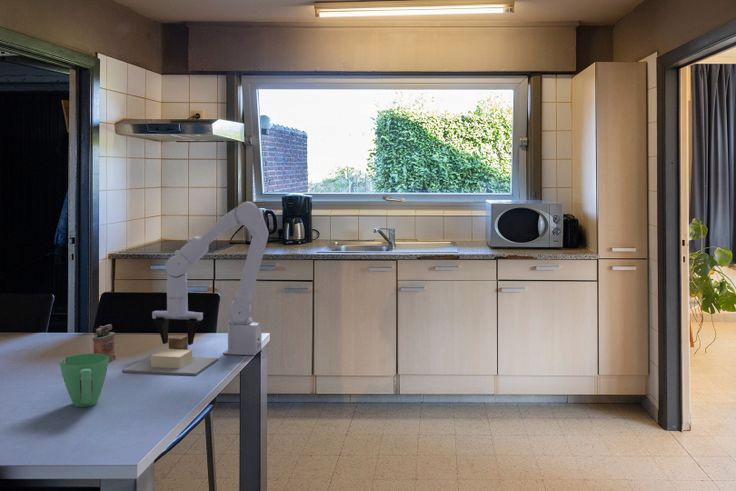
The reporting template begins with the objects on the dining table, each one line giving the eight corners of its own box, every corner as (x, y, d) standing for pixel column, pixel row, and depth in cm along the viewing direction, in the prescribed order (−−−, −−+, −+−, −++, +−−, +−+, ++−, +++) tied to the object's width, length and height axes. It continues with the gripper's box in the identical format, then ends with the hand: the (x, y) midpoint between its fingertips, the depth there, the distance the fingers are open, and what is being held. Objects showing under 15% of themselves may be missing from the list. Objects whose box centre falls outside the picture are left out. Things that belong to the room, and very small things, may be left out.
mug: (60, 399, 149) (59, 356, 148) (107, 394, 153) (106, 351, 152) (62, 420, 136) (60, 372, 135) (113, 413, 140) (112, 367, 139)
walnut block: (187, 352, 194) (187, 335, 193) (181, 356, 190) (181, 338, 189) (174, 352, 194) (174, 335, 194) (168, 355, 190) (168, 338, 190)
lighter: (101, 366, 178) (100, 329, 177) (90, 365, 179) (89, 328, 178) (118, 358, 186) (117, 323, 185) (107, 358, 187) (106, 322, 186)
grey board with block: (218, 360, 185) (218, 347, 185) (196, 375, 169) (195, 361, 169) (150, 357, 188) (150, 344, 188) (122, 372, 172) (122, 358, 172)
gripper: (147, 298, 188) (147, 345, 189) (196, 300, 186) (196, 348, 187) (158, 294, 195) (158, 340, 196) (205, 296, 193) (205, 342, 194)
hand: (177, 343), depth 192 cm, fingers open, 7 cm apart
